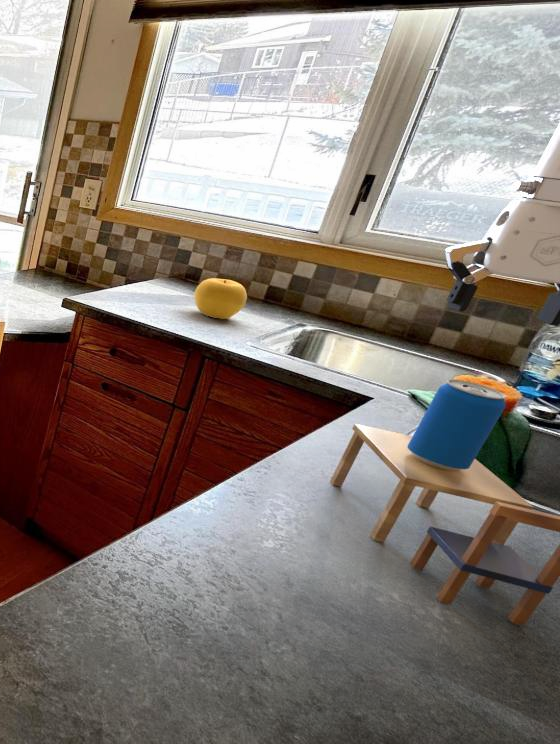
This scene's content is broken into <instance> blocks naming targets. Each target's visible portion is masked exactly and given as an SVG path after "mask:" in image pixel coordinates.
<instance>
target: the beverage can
mask: <svg viewBox="0 0 560 744" xmlns="http://www.w3.org/2000/svg"><path fill="white" fill-rule="evenodd" d="M506 398H507V395H506V394H505V393H504V392H501V391H499V390H498V389H495V388H493V387H490V386H488V385H484V384H480V383H476V382H472V381H469V380H463V379H454V378H453V379H448V380H447V382H446V383H444V384H441V385H440V386H439V387H438V389H437V390H436V392H435V394H434V395H433V398H432V400H431V401H430V404H429V405H428V407H427V409H426V411H425V413H424V415H422V418H421V420H420V422H419V423H418V426H417V428H416V429H415V432H414V433H413V435H412V436H413V437H412V439H411V440H410V442H409V444H408V446H407V448H408V449H409V450H410V451H411V452H412V455H413V456H414V457H415V458H417V459H419V460H420V461H422V462H424V463H427V464H429V465H432V466H435V467H438V468H441V469H445V470H451V471H457V470H460V469H468V468H470V466H471V464H472V463H473V461H474V459H476V457H477V456H478V454H479V452H480V451H481V449H482V448H483V445H484V444H485V443H486V441H487V439H488V437H489V436H490V434H491V432H492V431H493V429H494V427H495V425H496V424H497V422H498V420H499V419H500V417H501V415H502V414H503V412H504V411H505V408H506V407H507V403H506V400H505V399H506Z"/></svg>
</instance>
